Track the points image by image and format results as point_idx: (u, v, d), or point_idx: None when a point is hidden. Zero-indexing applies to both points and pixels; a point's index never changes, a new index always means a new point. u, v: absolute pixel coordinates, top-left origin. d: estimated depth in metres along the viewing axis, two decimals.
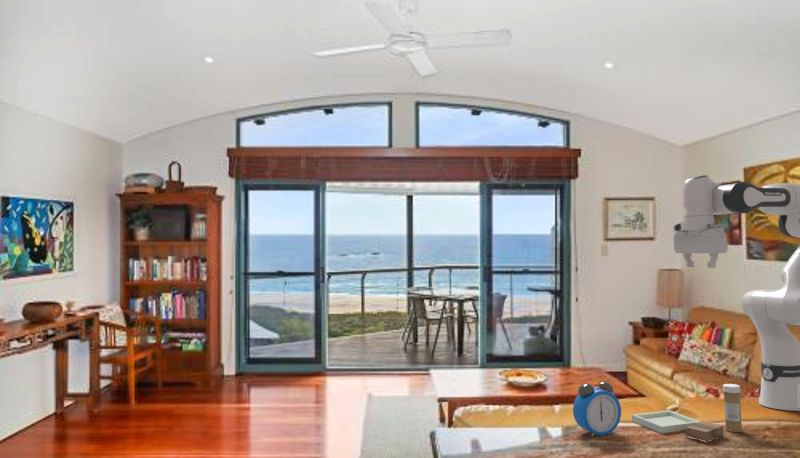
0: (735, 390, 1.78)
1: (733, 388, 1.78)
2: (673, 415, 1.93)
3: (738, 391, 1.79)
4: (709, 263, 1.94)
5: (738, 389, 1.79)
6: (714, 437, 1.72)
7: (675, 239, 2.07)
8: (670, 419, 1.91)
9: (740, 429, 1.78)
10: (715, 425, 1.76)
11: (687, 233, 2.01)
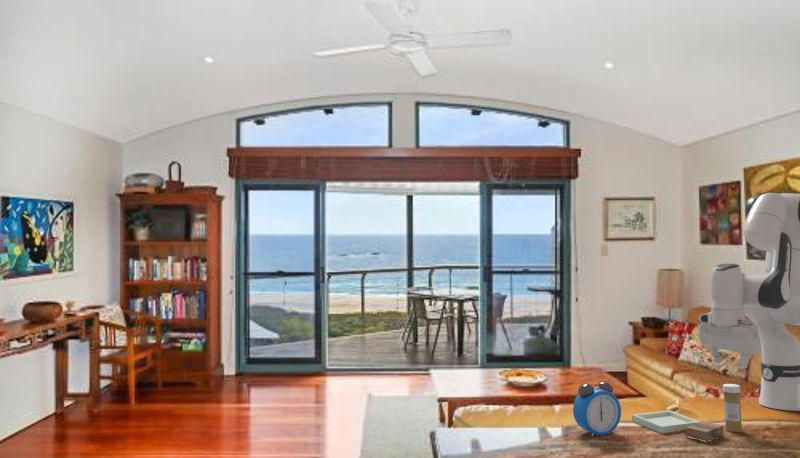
0: (735, 390, 1.78)
1: (733, 388, 1.78)
2: (673, 415, 1.93)
3: (738, 391, 1.79)
4: (740, 363, 1.76)
5: (738, 389, 1.79)
6: (714, 437, 1.72)
7: (701, 330, 1.89)
8: (670, 419, 1.91)
9: (740, 429, 1.78)
10: (715, 425, 1.76)
11: (715, 326, 1.84)
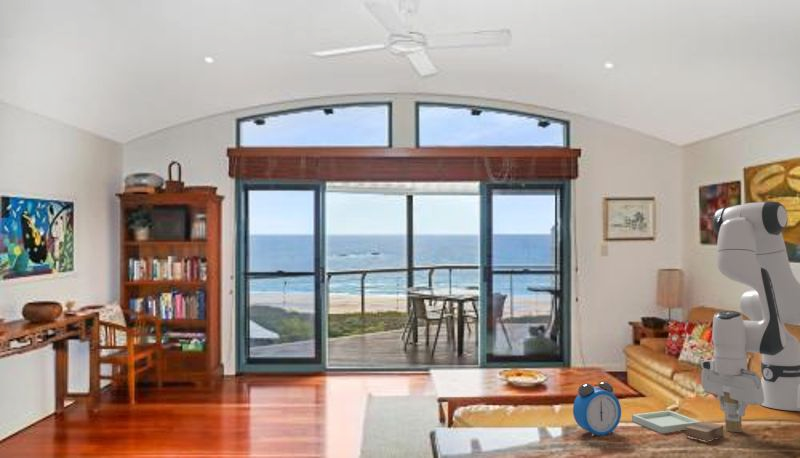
0: None
1: None
2: (673, 415, 1.93)
3: None
4: (738, 411, 1.77)
5: None
6: (714, 437, 1.72)
7: (703, 376, 1.88)
8: (670, 419, 1.91)
9: (740, 429, 1.78)
10: (715, 425, 1.76)
11: (717, 373, 1.83)
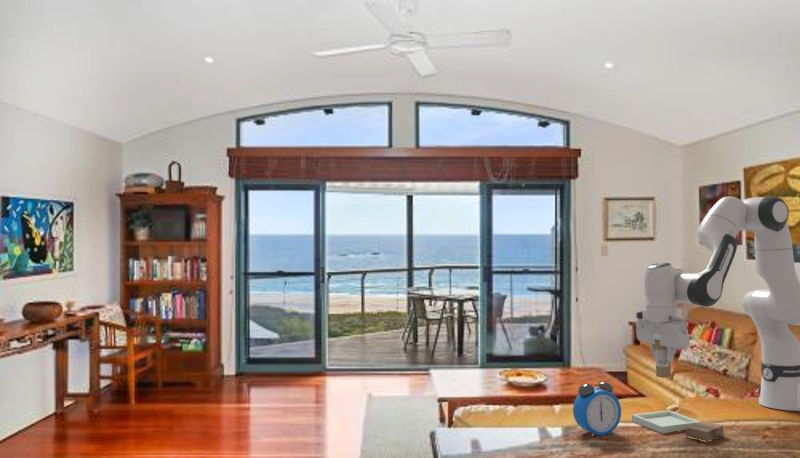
0: None
1: None
2: (673, 415, 1.93)
3: None
4: (667, 357, 1.86)
5: None
6: (714, 437, 1.72)
7: (637, 326, 1.97)
8: (670, 419, 1.91)
9: (669, 374, 1.87)
10: (715, 425, 1.76)
11: (649, 322, 1.91)
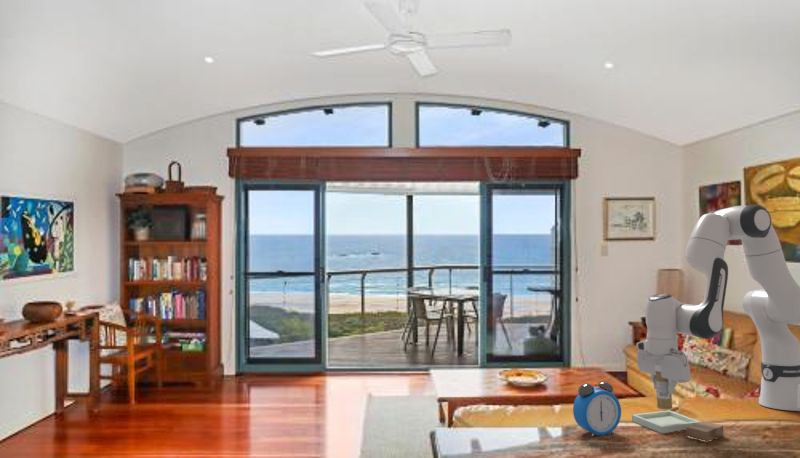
0: None
1: None
2: (673, 415, 1.93)
3: None
4: (668, 389, 1.85)
5: None
6: (714, 437, 1.72)
7: (639, 357, 1.96)
8: (670, 419, 1.91)
9: (670, 406, 1.86)
10: (715, 425, 1.76)
11: (650, 354, 1.91)
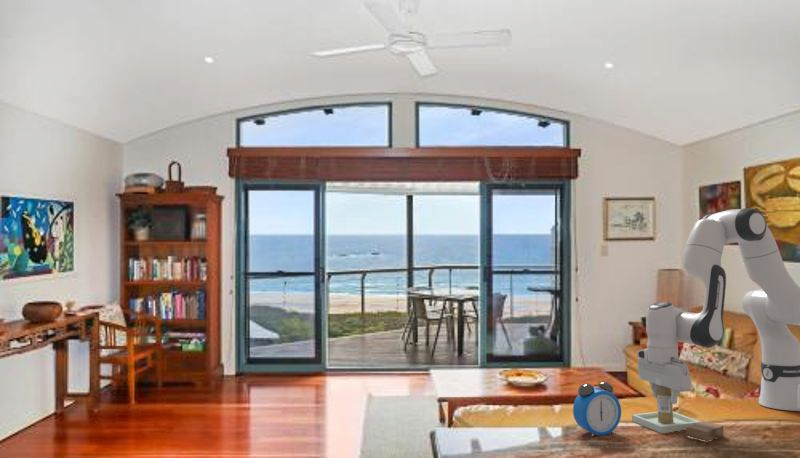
0: None
1: None
2: (673, 415, 1.93)
3: None
4: (670, 398, 1.84)
5: None
6: (714, 437, 1.72)
7: (639, 365, 1.96)
8: None
9: (671, 420, 1.86)
10: (715, 425, 1.76)
11: (651, 362, 1.91)
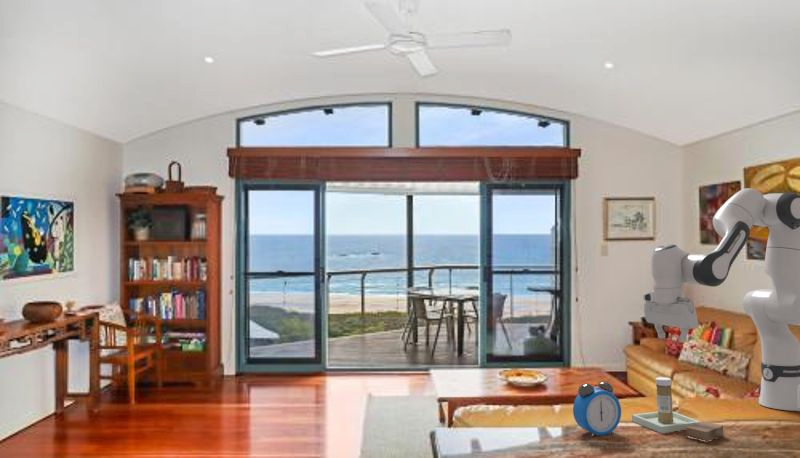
0: (666, 383, 1.87)
1: (664, 381, 1.87)
2: (673, 415, 1.93)
3: (669, 384, 1.87)
4: (680, 337, 1.88)
5: (669, 382, 1.87)
6: (714, 437, 1.72)
7: (646, 308, 2.00)
8: None
9: (671, 420, 1.86)
10: (715, 425, 1.76)
11: (657, 304, 1.95)
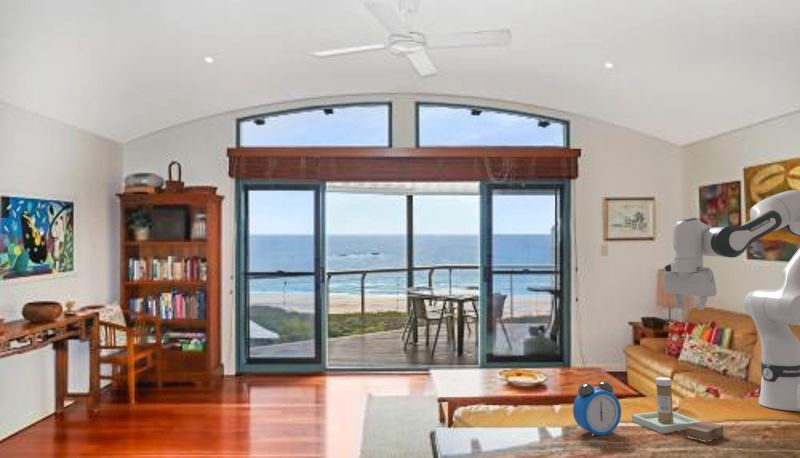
0: (666, 383, 1.86)
1: (664, 381, 1.87)
2: (673, 415, 1.93)
3: (669, 384, 1.87)
4: (698, 305, 1.97)
5: (669, 382, 1.87)
6: (714, 437, 1.72)
7: (666, 279, 2.10)
8: None
9: (671, 420, 1.86)
10: (715, 425, 1.76)
11: (677, 274, 2.04)
